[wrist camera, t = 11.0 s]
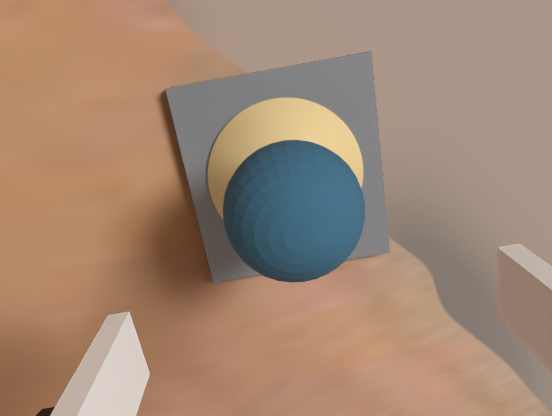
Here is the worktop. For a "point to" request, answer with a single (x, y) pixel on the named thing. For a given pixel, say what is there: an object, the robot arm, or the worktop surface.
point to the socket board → (273, 128)
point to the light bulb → (293, 211)
